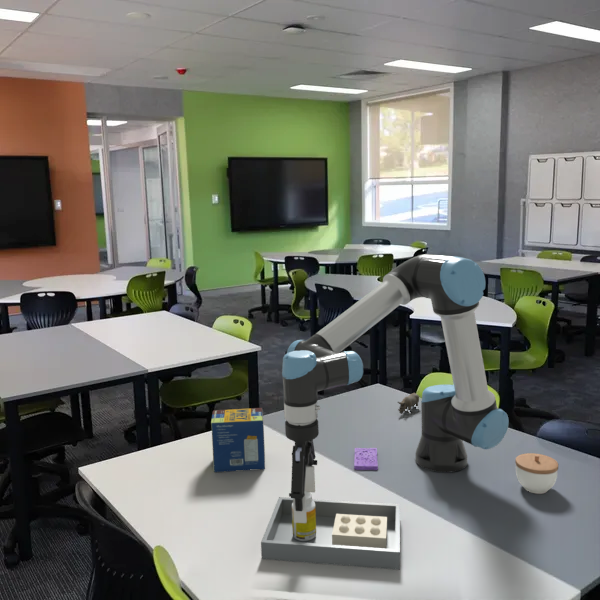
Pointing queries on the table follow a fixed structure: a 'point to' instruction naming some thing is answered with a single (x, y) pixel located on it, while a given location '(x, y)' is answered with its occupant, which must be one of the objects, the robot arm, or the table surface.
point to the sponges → (365, 459)
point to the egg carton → (360, 531)
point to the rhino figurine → (408, 402)
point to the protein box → (238, 439)
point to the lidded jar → (536, 472)
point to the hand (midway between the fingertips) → (305, 506)
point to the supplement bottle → (309, 528)
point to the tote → (320, 549)
